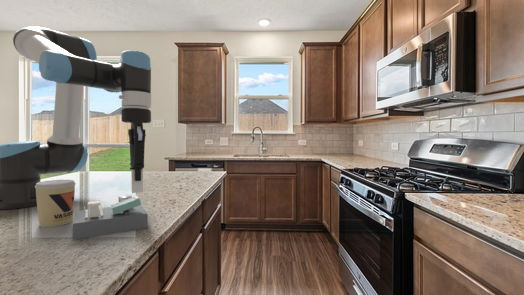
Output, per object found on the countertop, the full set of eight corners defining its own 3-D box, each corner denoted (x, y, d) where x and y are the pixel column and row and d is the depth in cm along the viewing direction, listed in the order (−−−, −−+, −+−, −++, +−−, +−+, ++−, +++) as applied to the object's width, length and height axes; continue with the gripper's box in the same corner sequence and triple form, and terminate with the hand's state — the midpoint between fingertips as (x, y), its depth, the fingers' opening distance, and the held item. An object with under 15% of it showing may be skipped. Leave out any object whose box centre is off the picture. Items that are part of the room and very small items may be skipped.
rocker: (112, 211, 74) (110, 204, 74) (139, 201, 78) (137, 195, 77) (113, 214, 71) (111, 207, 70) (141, 204, 74) (139, 197, 74)
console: (75, 225, 76) (75, 208, 76) (140, 216, 85) (140, 201, 85) (72, 239, 65) (72, 220, 65) (147, 227, 74) (147, 210, 74)
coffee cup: (54, 229, 72) (53, 185, 72) (26, 226, 74) (25, 183, 74) (83, 219, 82) (83, 180, 81) (58, 217, 83) (57, 178, 83)
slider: (87, 215, 71) (87, 201, 71) (100, 213, 72) (100, 200, 72) (87, 218, 68) (87, 204, 68) (100, 216, 70) (100, 203, 70)
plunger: (118, 206, 80) (118, 196, 80) (131, 204, 82) (131, 195, 82) (119, 208, 77) (119, 198, 77) (132, 207, 79) (132, 197, 79)
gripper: (119, 109, 78) (120, 189, 79) (124, 105, 67) (124, 197, 68) (146, 111, 82) (147, 187, 83) (155, 107, 71) (156, 194, 72)
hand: (137, 192), depth 76 cm, fingers closed
